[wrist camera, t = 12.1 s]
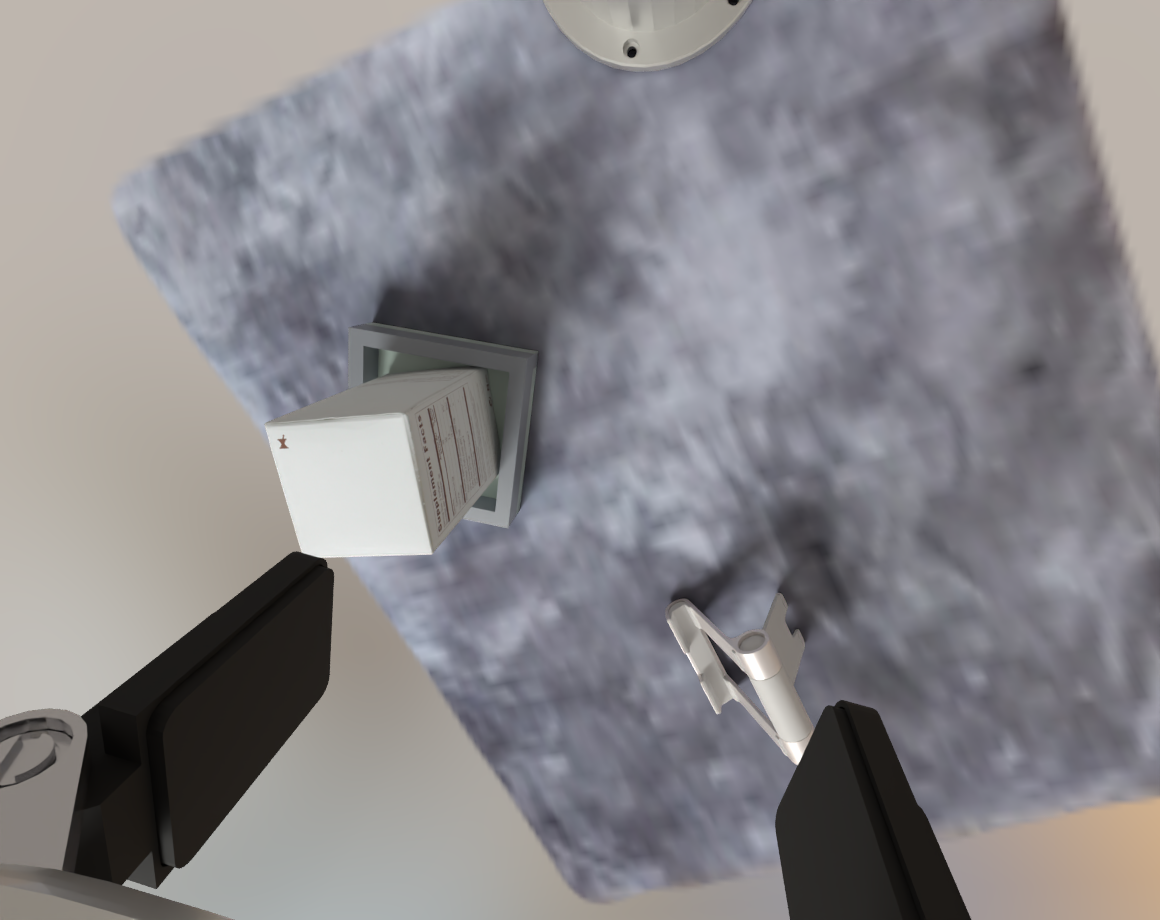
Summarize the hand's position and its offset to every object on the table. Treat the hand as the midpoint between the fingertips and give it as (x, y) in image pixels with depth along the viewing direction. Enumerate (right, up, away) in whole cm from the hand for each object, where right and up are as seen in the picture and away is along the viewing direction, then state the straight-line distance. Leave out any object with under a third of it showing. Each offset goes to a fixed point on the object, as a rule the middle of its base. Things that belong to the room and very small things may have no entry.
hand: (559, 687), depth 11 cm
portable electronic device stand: (+12, -8, +32) cm, 35 cm away
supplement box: (-9, +7, +29) cm, 31 cm away
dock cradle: (-9, +7, +29) cm, 32 cm away
